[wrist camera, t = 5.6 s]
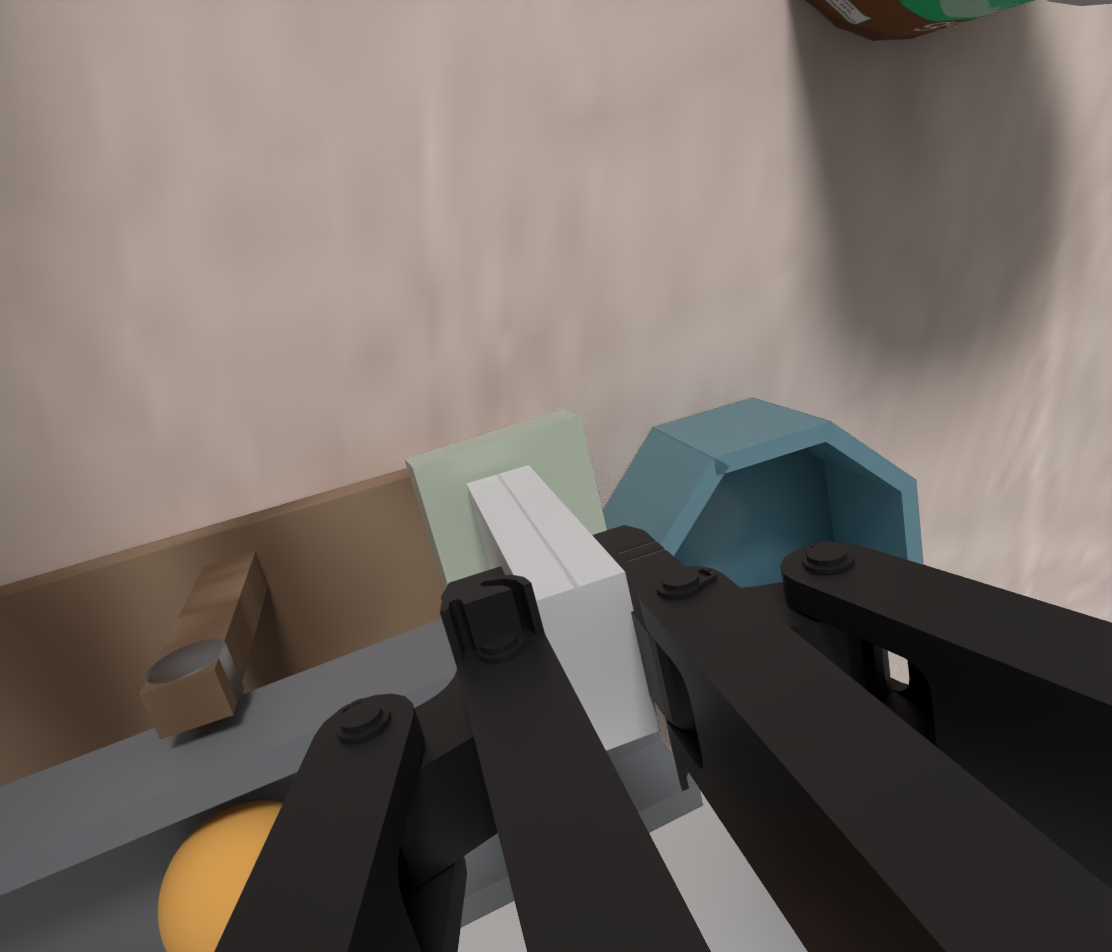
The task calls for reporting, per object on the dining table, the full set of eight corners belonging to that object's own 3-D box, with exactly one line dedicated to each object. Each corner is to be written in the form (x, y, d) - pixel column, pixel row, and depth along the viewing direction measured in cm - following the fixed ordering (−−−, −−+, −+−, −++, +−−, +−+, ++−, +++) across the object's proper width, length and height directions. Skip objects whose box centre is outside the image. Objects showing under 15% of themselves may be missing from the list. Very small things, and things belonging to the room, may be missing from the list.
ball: (380, 878, 19) (246, 890, 20) (333, 757, 18) (192, 774, 19) (321, 1029, 16) (160, 1038, 16) (259, 890, 15) (88, 906, 15)
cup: (631, 680, 30) (683, 753, 26) (579, 449, 27) (626, 484, 23) (846, 602, 32) (931, 658, 27) (819, 377, 29) (909, 396, 24)
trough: (-127, 1054, 20) (-249, 1293, 15) (-403, 666, 16) (-679, 819, 11) (625, 715, 26) (706, 810, 21) (546, 380, 22) (623, 402, 17)
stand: (25, 928, 26) (-126, 1231, 18) (-148, 629, 23) (-439, 836, 14) (612, 712, 30) (712, 878, 22) (543, 428, 27) (632, 498, 18)
